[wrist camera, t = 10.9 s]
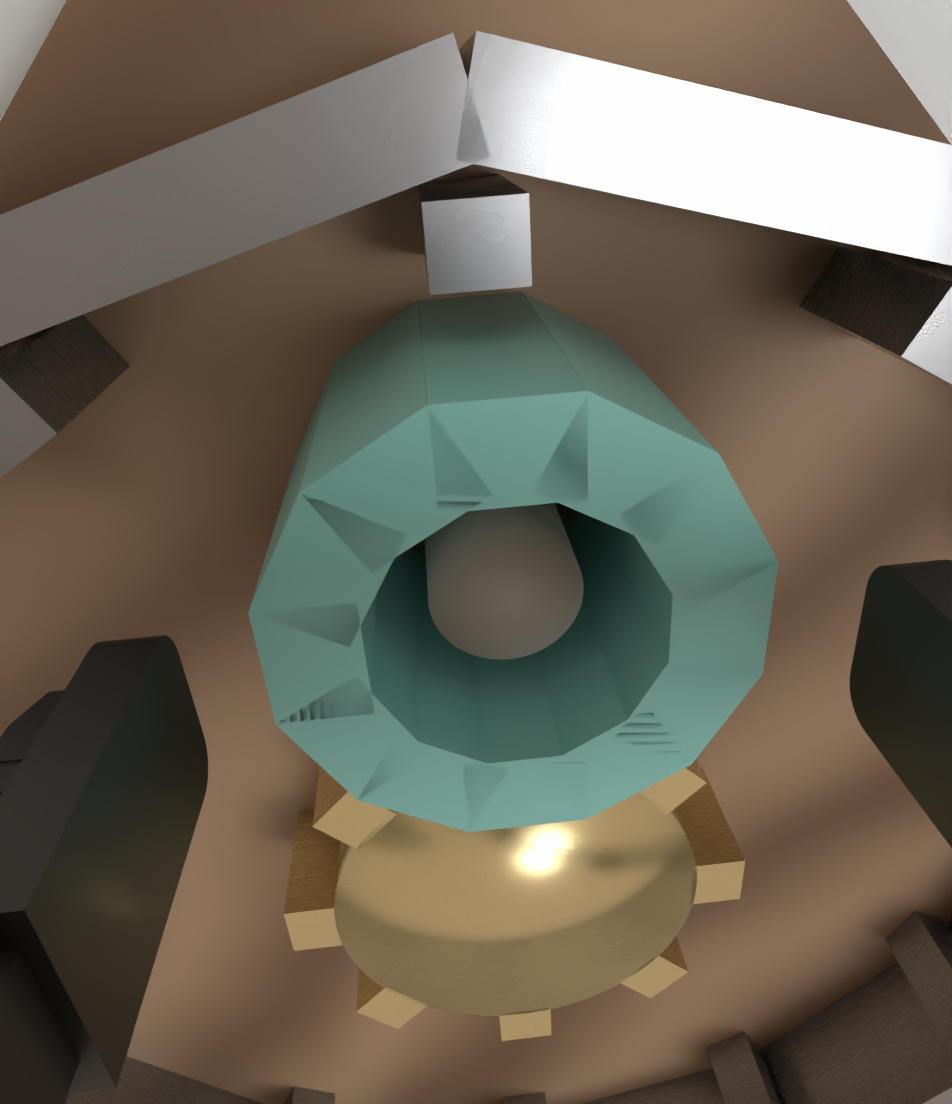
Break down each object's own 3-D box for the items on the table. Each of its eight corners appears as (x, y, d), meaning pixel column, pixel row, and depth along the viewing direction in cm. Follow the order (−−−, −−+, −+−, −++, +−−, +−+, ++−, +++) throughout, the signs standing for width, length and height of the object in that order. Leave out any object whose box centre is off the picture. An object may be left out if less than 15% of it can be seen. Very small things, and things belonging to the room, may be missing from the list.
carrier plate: (1298, 672, 20) (1587, 853, 15) (527, 1174, 29) (553, 1389, 24) (401, -513, 9) (401, -1174, 5) (-371, 854, 18) (-649, 1120, 13)
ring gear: (1344, 714, 18) (1501, 814, 16) (533, 1219, 27) (547, 1339, 24) (405, -549, 8) (408, -858, 6) (-410, 909, 17) (-559, 1055, 14)
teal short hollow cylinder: (722, 392, 13) (877, 528, 9) (550, 661, 16) (607, 872, 11) (391, 225, 12) (383, 292, 7) (254, 553, 14) (189, 752, 10)
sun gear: (781, 776, 18) (834, 869, 16) (515, 981, 21) (529, 1084, 18) (486, 562, 15) (501, 641, 12) (218, 839, 17) (192, 943, 15)
